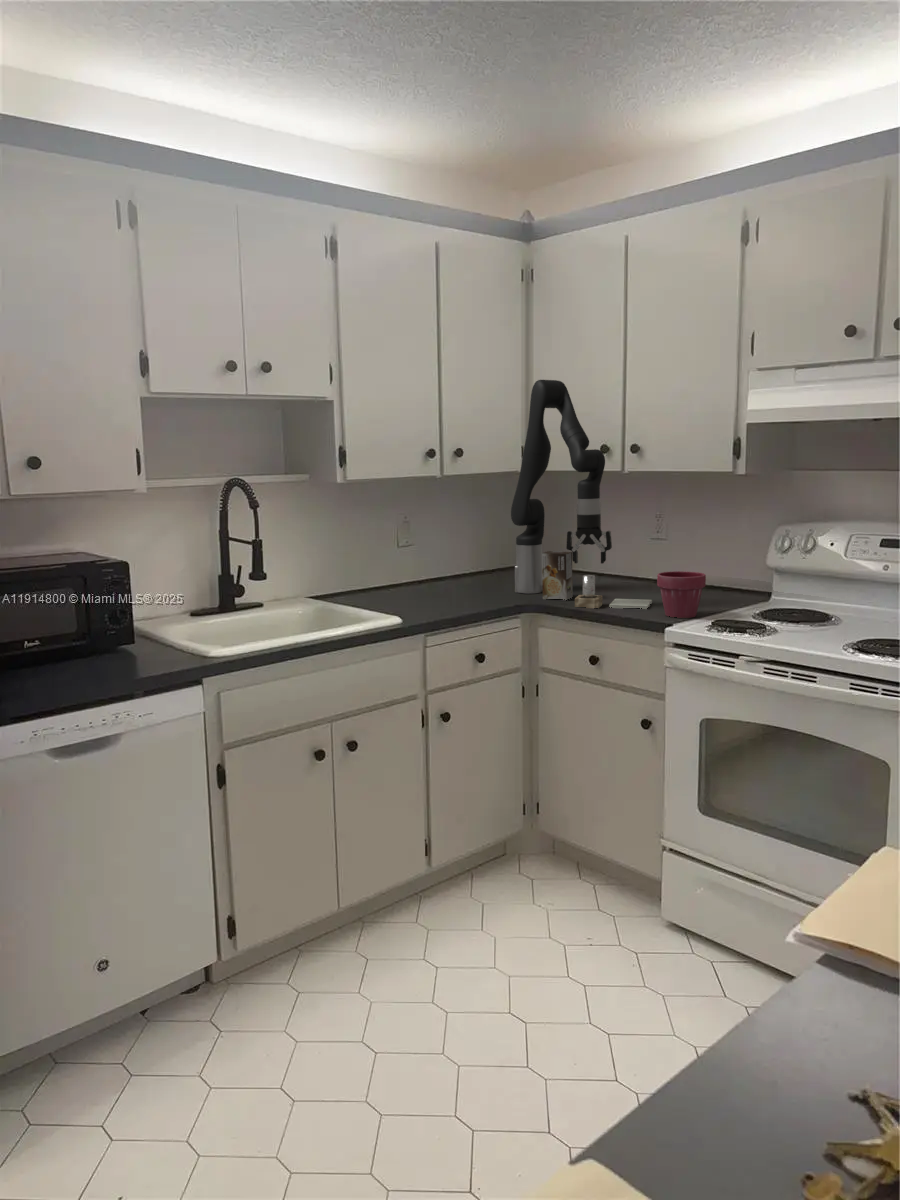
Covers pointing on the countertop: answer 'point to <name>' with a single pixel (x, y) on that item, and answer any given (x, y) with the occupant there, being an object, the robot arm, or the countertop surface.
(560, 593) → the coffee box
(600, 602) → the wood collar
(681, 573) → the plant pot
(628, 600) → the sage mat
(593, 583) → the metal peg
